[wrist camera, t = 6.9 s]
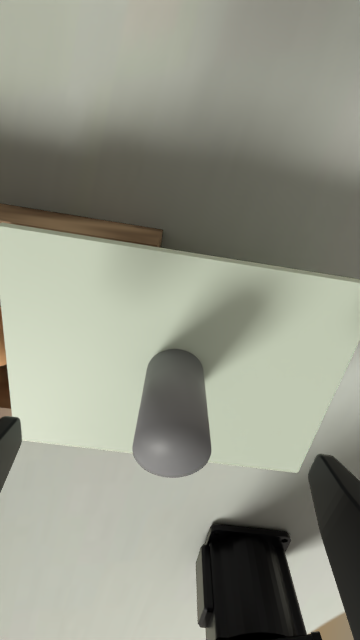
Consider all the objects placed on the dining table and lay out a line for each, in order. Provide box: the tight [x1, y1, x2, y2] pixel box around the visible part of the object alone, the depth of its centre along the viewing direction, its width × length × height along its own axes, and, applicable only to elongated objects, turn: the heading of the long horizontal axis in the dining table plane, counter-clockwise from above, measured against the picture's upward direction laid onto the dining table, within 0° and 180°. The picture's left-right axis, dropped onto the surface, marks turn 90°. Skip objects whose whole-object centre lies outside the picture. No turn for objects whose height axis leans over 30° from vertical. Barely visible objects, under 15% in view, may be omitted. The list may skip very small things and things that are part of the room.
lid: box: [0, 223, 360, 478], centre depth 11 cm, size 14×10×5 cm
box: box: [0, 203, 163, 418], centre depth 15 cm, size 14×10×4 cm
